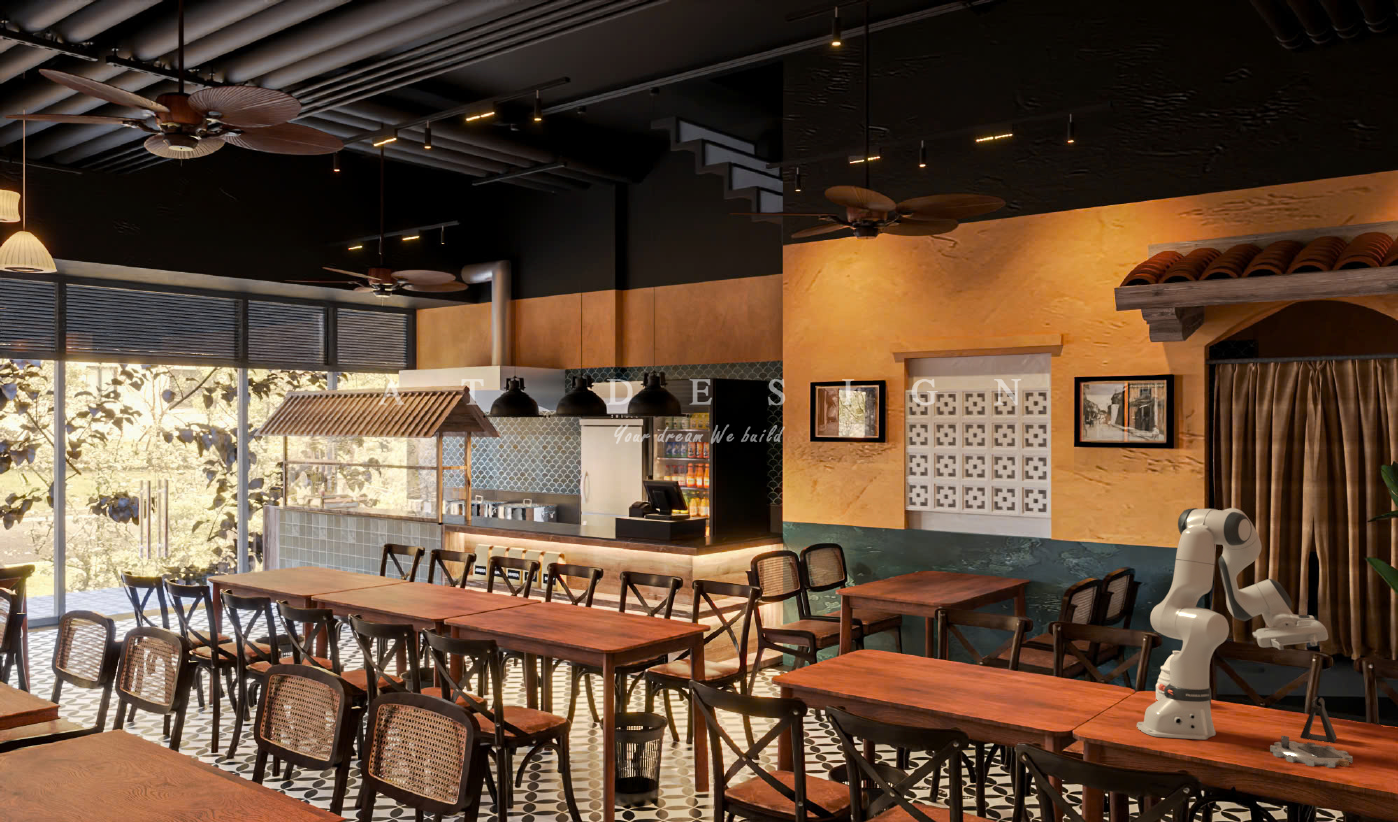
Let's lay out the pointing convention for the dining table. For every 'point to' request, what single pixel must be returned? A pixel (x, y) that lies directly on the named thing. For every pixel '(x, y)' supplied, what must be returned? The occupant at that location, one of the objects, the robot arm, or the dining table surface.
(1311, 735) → the dark grey triangular bracket
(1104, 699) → the dining table surface
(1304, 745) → the sprocket
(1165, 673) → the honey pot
